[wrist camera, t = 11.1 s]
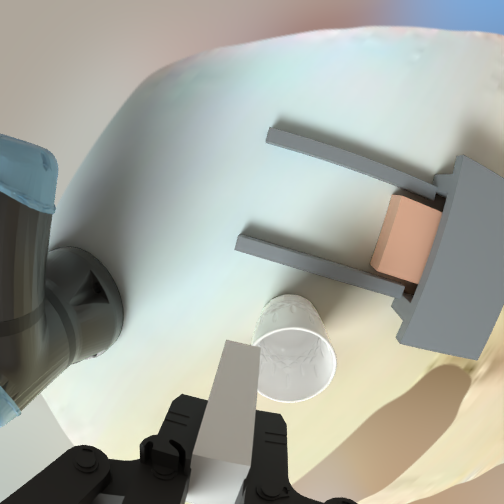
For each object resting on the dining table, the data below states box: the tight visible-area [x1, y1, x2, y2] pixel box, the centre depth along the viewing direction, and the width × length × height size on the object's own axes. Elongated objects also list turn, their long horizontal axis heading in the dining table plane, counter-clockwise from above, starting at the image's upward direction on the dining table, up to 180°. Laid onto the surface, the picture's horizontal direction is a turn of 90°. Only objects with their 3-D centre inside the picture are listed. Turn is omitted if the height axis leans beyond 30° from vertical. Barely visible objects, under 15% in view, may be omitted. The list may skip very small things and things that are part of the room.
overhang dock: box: [234, 127, 504, 360], centre depth 30 cm, size 31×20×6 cm, turn 75°
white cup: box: [250, 294, 337, 403], centre depth 31 cm, size 8×8×10 cm
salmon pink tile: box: [370, 195, 442, 284], centre depth 31 cm, size 14×8×3 cm, turn 75°
